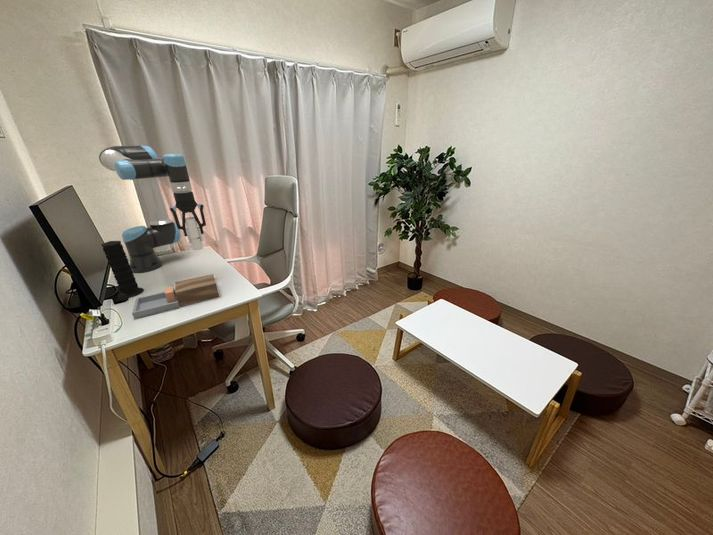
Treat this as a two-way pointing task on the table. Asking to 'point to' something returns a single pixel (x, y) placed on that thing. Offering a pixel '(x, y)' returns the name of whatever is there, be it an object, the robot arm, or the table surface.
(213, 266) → the table surface
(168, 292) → the terracotta tile
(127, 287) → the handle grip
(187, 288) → the walnut ledge
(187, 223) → the tube
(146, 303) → the box
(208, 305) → the table surface
